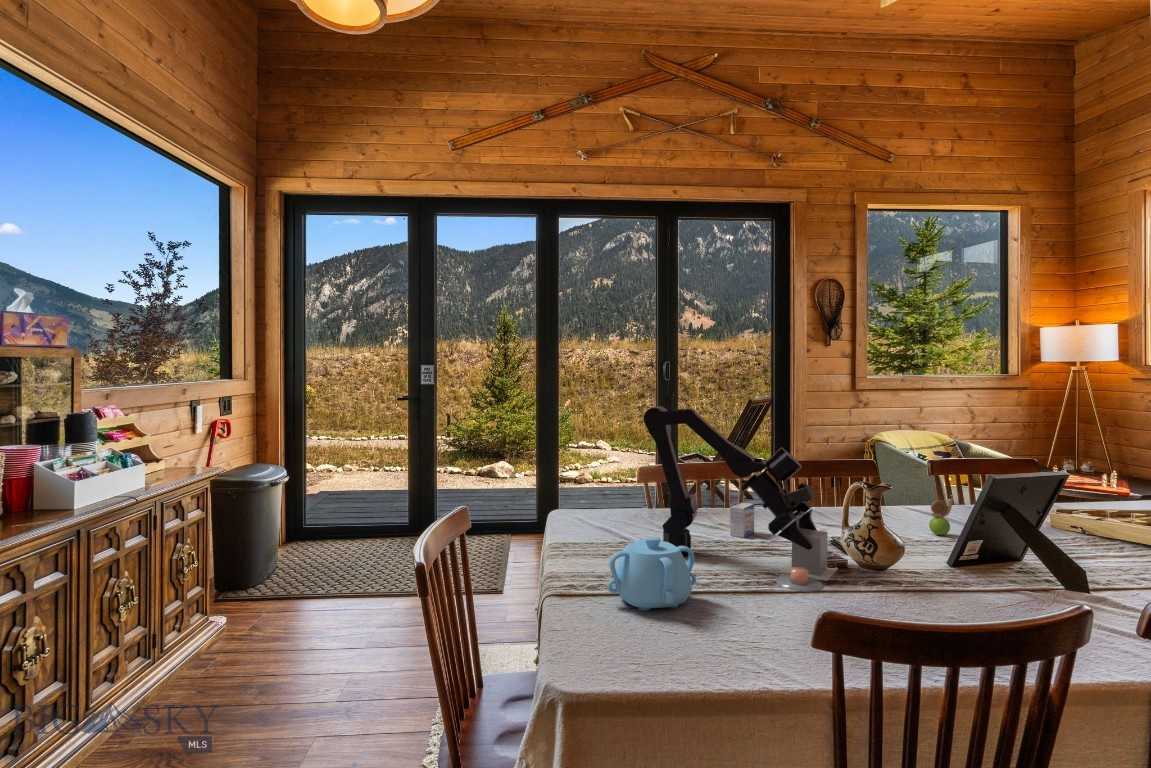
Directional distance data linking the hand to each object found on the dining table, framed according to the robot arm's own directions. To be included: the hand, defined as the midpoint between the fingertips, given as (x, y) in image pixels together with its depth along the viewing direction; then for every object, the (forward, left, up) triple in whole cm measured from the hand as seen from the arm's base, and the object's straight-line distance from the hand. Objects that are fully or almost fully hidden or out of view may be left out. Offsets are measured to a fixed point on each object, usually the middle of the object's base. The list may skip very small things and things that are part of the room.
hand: (815, 544), depth 154 cm
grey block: (-1, +1, -6) cm, 7 cm away
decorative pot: (-46, -3, -7) cm, 46 cm away
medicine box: (+4, +35, -7) cm, 36 cm away
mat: (-1, +1, -7) cm, 7 cm away
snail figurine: (+59, +14, -7) cm, 61 cm away
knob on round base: (-10, -6, -7) cm, 13 cm away
